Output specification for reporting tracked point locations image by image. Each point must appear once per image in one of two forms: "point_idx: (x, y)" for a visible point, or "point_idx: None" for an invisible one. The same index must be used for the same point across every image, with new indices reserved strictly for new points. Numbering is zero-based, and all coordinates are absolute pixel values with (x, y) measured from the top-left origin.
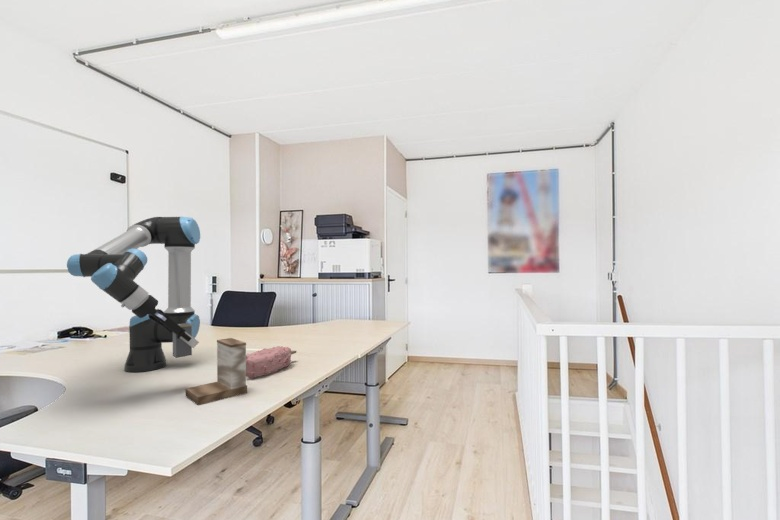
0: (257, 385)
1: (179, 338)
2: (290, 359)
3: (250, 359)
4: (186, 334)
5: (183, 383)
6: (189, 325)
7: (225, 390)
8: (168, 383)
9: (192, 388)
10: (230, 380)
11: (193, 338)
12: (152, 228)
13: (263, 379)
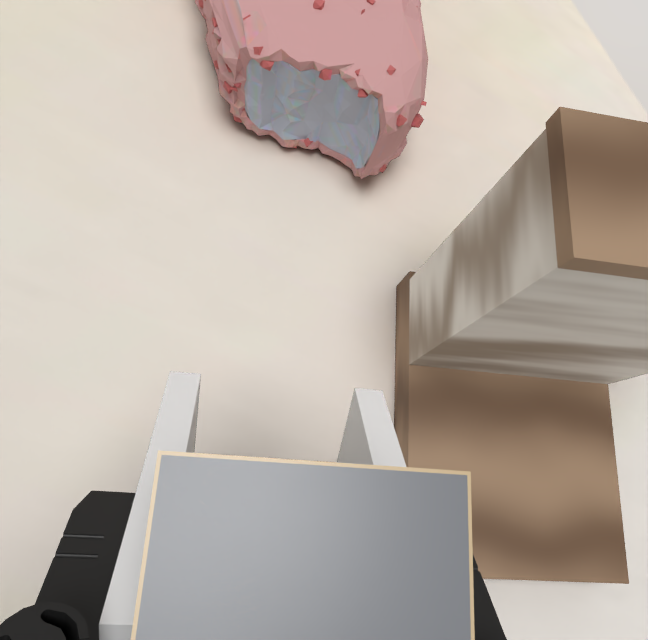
0: None
1: None
2: None
3: (404, 94)
4: (492, 613)
5: (107, 473)
6: (457, 527)
7: (608, 416)
8: (4, 553)
9: None
10: (633, 373)
11: (399, 462)
12: None
13: (423, 139)
